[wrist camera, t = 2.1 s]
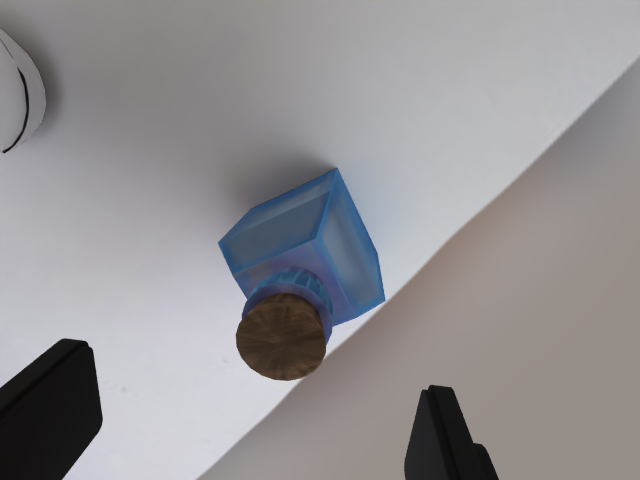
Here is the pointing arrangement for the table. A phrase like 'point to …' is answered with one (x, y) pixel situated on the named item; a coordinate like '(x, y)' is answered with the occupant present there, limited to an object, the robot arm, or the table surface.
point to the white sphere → (18, 95)
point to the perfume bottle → (300, 275)
